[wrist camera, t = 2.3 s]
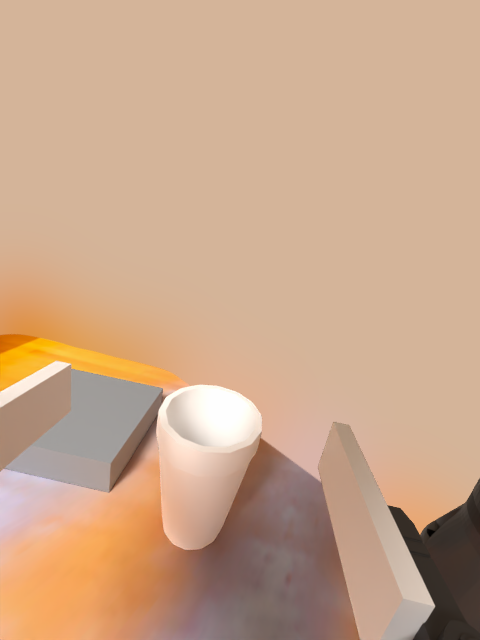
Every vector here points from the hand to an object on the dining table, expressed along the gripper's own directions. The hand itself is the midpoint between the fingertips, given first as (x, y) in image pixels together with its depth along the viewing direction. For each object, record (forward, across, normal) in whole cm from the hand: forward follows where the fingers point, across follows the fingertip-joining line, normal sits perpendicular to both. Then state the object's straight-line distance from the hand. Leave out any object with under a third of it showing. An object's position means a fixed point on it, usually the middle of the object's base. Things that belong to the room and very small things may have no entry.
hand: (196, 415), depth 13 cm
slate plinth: (+18, -17, -20) cm, 31 cm away
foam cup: (+10, 0, -20) cm, 22 cm away
